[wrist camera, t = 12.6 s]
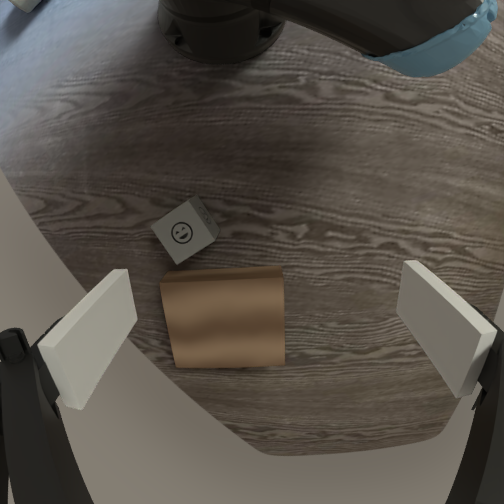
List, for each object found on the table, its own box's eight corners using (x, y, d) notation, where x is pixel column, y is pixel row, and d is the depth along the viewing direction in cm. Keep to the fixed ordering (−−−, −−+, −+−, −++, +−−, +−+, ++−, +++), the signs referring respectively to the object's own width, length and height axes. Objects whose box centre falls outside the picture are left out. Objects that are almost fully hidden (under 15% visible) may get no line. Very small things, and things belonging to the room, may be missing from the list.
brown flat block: (167, 271, 38) (159, 283, 35) (280, 265, 38) (283, 277, 34) (182, 350, 42) (176, 367, 38) (282, 347, 42) (284, 365, 38)
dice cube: (186, 251, 38) (163, 217, 37) (220, 229, 37) (196, 194, 36) (176, 264, 33) (150, 226, 32) (215, 240, 32) (188, 199, 31)
